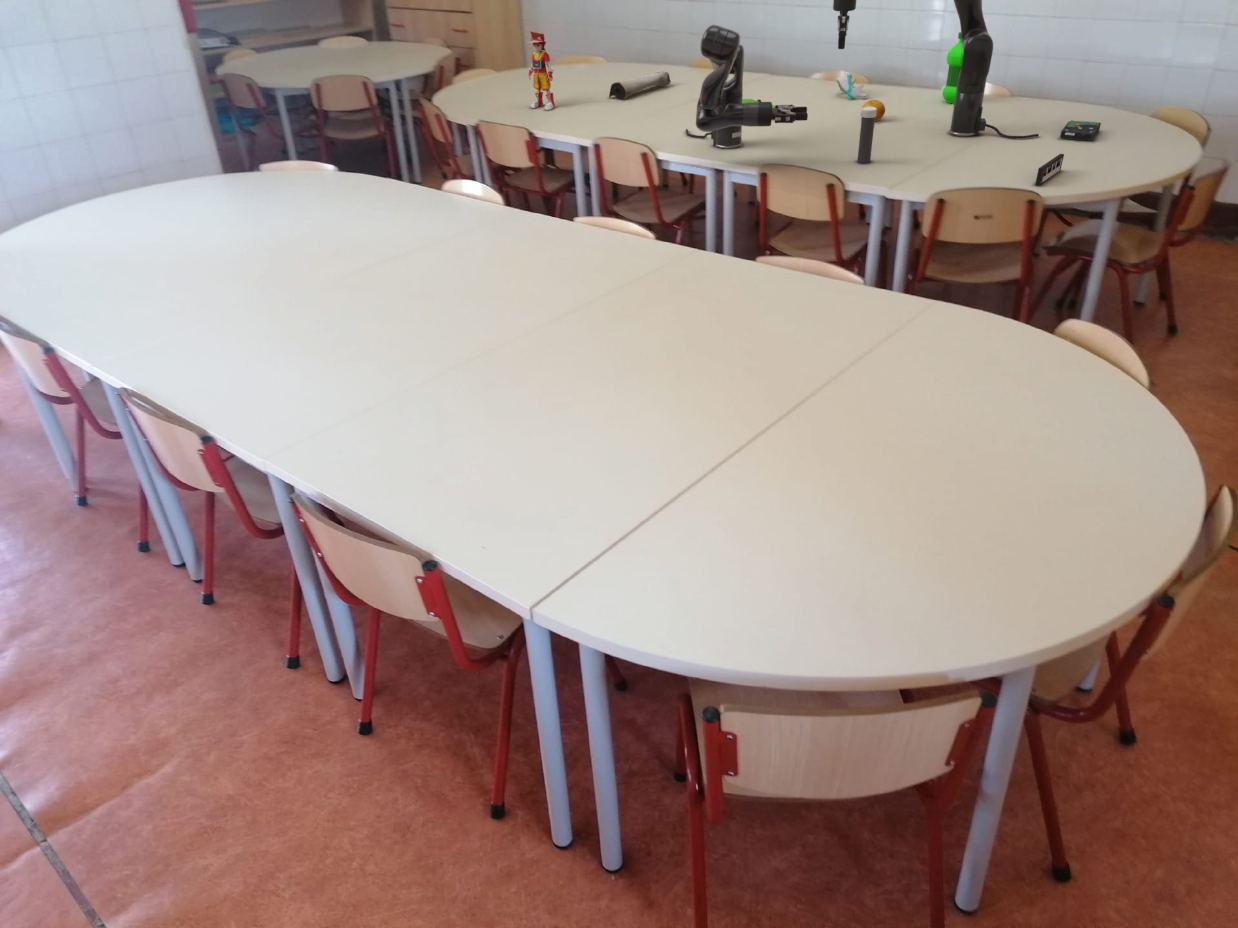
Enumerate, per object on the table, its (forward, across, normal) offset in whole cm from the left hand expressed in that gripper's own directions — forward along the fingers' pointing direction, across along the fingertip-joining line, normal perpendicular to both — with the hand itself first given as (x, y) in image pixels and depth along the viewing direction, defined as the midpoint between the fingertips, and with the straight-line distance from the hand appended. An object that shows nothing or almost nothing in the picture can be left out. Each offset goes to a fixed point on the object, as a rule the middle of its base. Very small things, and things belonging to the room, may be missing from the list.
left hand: (807, 113), depth 292 cm
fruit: (+27, +53, +15) cm, 61 cm away
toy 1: (-108, +82, +15) cm, 137 cm away
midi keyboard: (+73, -18, +16) cm, 77 cm away
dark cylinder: (+20, 0, +16) cm, 25 cm away
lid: (+20, 0, -1) cm, 20 cm away
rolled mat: (-69, +107, +14) cm, 128 cm away
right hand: (+12, +35, -14) cm, 39 cm away
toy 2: (-17, +63, +15) cm, 67 cm away
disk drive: (+94, +29, +15) cm, 100 cm away
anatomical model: (+21, +92, +14) cm, 96 cm away
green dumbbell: (+60, +78, +15) cm, 100 cm away
